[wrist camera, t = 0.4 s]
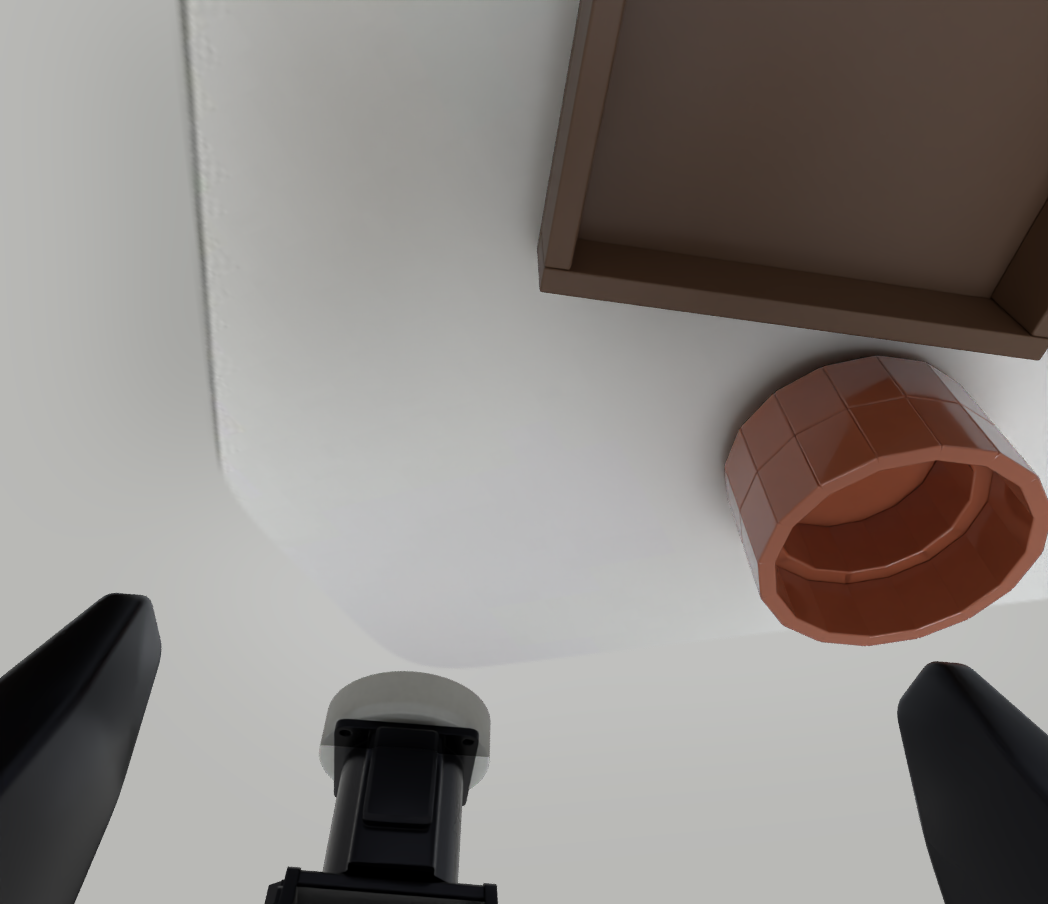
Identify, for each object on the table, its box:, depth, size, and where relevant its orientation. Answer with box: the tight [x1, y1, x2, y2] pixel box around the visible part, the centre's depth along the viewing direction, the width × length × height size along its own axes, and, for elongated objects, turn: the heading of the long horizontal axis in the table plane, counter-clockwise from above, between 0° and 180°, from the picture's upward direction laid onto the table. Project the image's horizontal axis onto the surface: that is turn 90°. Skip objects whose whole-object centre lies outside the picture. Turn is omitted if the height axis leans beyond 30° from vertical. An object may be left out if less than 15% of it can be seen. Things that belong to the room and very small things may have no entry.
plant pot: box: [724, 355, 1048, 646], centre depth 21 cm, size 7×7×4 cm
